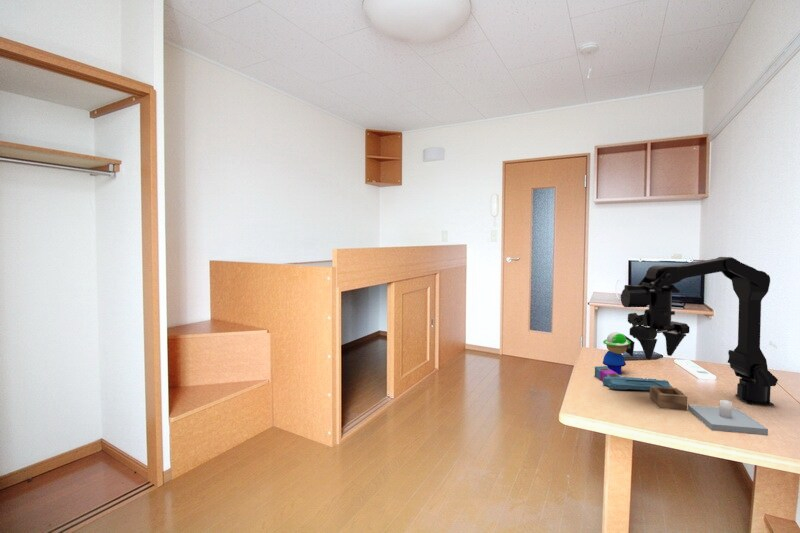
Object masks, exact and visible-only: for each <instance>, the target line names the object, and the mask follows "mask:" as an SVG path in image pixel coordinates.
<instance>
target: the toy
mask: <svg viewBox="0 0 800 533" xmlns="http://www.w3.org/2000/svg"><path fill="white" fill-rule="evenodd" d="M602 342H603V344H604V345H606V349H607V350H608V351H607V352H606V353H605V354H604V356H603V360H602V364H603V366H608V368H609V369H611V370H613V371H614V372H616V373H617V374H618V375H620V376H621V374H622V368H623V367H626V366H627V362H626V360H625V358H624V355H623V353H627V354H629V356H631V357H632V358H633V356H634V349H635V341H634V340H632V339H631V338H629V337H628V336H626V335H625V334H623V333H620V332H618V331H616V332H611V333H609V334H608V335H607V337H606V339H604V340H603V341H602Z"/></svg>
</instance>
